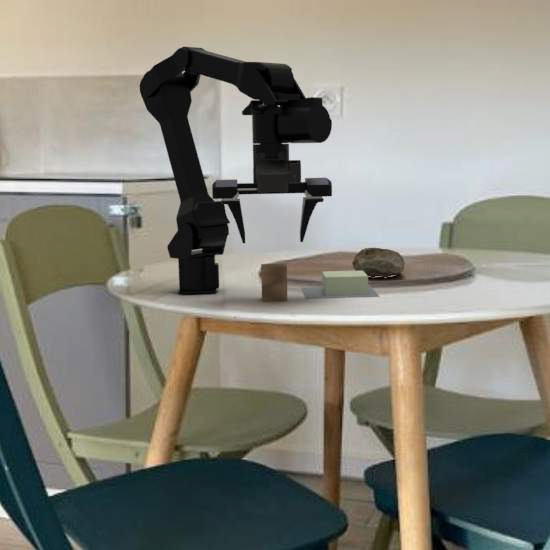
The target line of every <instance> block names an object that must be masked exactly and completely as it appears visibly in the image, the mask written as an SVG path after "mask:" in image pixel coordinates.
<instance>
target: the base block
mask: <svg viewBox="0 0 550 550" xmlns="http://www.w3.org/2000/svg"><path fill="white" fill-rule="evenodd" d="M321 283H322V285H321V287H322V289H323V291H324V293H325V295H361V294H368V285H369V277H368V276H367V274H366V273H365V272H364V271H356V270H341V271H340V270H337V271H336V270H335V271H330V270H329V271H321Z"/></svg>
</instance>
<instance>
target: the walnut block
mask: <svg viewBox="0 0 550 550" xmlns="http://www.w3.org/2000/svg"><path fill="white" fill-rule="evenodd" d="M287 266H288V265H287V264H286V263H261V264H260V267H261V268H260V270H261V271H260V273H261V301H262V303H273V302H274V303H276V302H277V303H279V302H283V303H285V302H288V269H287V268H288V267H287Z"/></svg>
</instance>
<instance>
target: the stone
mask: <svg viewBox="0 0 550 550" xmlns="http://www.w3.org/2000/svg"><path fill="white" fill-rule="evenodd" d="M404 259H405V258H404V257H403V256H402V255H401V254H400V253H399V252H398V251H395V250H392V249H389V248H380V247H365V248H362V249H361V250H360V251H359V252H358V253H356V254H355V256H354V258H353V260H352V262H351V263H352V267H353V270H354V271H364V272H365V273H366V274H367V276H371V277H375V276H382V277H388V276H391V275H398V276H399V275H400V274H401V273H402V272H403V271H404V270H405V265H406V262H405V260H404Z"/></svg>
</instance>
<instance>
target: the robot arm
mask: <svg viewBox="0 0 550 550" xmlns="http://www.w3.org/2000/svg"><path fill="white" fill-rule="evenodd" d="M201 76H204V77H206V78H210V79H215V80H218V81H221V82H225V83H227V84H231V85H233V86H234V87H236V88H237V90H238V91H239V93H241V94H243V95H245V96H247V97H249V98H250V99H252V100H250V101H249V103H248V105H247V106H246V107H244V108H243V110H242V111H241V114H242V116H251V121H252V122H251V125H252V128H251V129H252V130H251V131H252V132H251V133H252V162H253V163H252V165H253V166H252V167H253V169H252V176H253V177H252V178H253V179H252V180H253V182H252V183H251V182H248V183H247V182H245V183H244V182H243V183H241V182H240V183H238V179H237V178H236V179H235V178H234V179H216V180H215V181H213V183H212V185H211V187H212V188H211V189H212V190H211V192H212V193H211V194H212V197H211V196H210V194H209V191H208V188H207V184H206V180H205V176H204V172H203V170H202V166H201V163H200V158H199V155H198V151H197V147H196V144H195V143H196V142H195V141H194V137H193V134H192V133H193V132H192V129H191V125H190V121H189V117H188V116H189V112H190V109H191V105H192V101H193V99H192V94H191V92H192V91H193V90H194V89H196V87H197V86H198V85H199V83H200V79H201ZM139 92H140V93H139V94H140V96H141V98H142V101H143V103H144V106H145V108H146V110H147V111H148V113H149V114H150V115H151V116H152V117H153V118H154V119H155V120H156V121H157V122H158V124H159V126H160V129H161V134H162V138H163V141H164V145H165V148H166V152H167V156H168V159H169V163H170V167H171V171H172V174H173V177H174V178H173V179H174V182H175V186H176V189H177V193H178V197H179V202H180V203H179V207H178V212H177V214H176V227H177V231H176V233H175V234H174V235H173V237H172V238H171V240H170V242H169V243H168V244H167V252H168V255H169V259H177V260H178V261H177V263H178V284H179V285H178V287H179V289H178V291H177V293H178V294H179V295H182V294H183V295H185V294H186V295H187V294H189V295H190V294H214V293H215V294H216V293H217V289H219V288H220V270H219V269H220V265H219V263H218V262H216V256H217V255H220V256H221V255H224V252H225V247H226V244H227V239H228V236H229V234H230V233H229V232H230V229H229V228H230V227H229V224H231V221H230V220H229V218H228V216H227V211H226V205H227V207H228V208H229V210H230V212H231V214H232V216H233V218H234V221H235V224H236V226H237V230H238V233H239V237H240V239H241V242H242V244H246V231H245V225H244V224H245V223H244V218H243V211H242V205H241V198H239V196H240V195H273V194H274V195H277V194H282V195H283V194H304V195H305V196H304V197H302V205H301V216H300V227H299V242H300V243H304V239H305V235H306V233H307V230H308V226H309V222H310V219H311V217H312V214H313V212H314V210H315V208H316V207H317V204H318V203H323V202H324V197H332V196H333V185H332V180H330V179H329V178H327V177H304V181H302V163H301V161H302V160H301V159H292V160H290V144H321V143H324V142H326V141H327V140H328V138H329V137H330V135H331V133H332V127H333V126H332V125H333V122H332V119H331V116H330V114H329V111H328V110H327V108H326V107H325V106H324V105H323V98H322V97H315V96H314V97H313V96H311V97H310V96H309V97H306V96H305V94H304V93H303V91H302V89H301V87H300V86H299V84H298V82H297V81H296V79H295V77H294V73H293V69H292V67H290V65H288V64H287V63H278V62H277V63H276V62H275V63H274V62H263V61H262V62H261V61H245V60H242V59H239V58H238V59H237V58H234V57H229V56H226V55H223V54H219V53H215V52H213V51H209V50H206V49H204V48H202V47H195V46H182V47H179V48H178V49H176V50H175V51H174V52H173V53H172V55H170V56H169V57H167V58H165V59H163V60H161V61H159V62H158V63H156V64H155V65H153V66H152V67H151V68H150V70H147V71H146V72H145V73H144V75H143V77H142V78H141V80H140V81H139ZM219 199H220V200H219ZM215 200H217V201H215Z"/></svg>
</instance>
